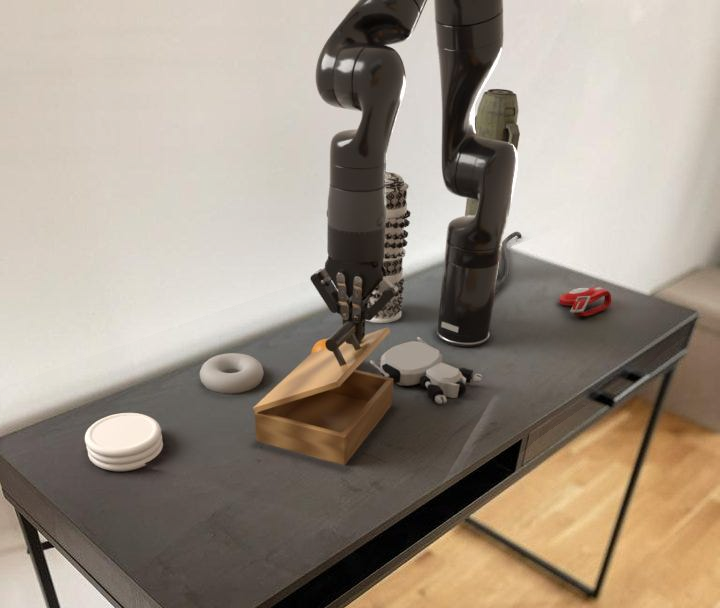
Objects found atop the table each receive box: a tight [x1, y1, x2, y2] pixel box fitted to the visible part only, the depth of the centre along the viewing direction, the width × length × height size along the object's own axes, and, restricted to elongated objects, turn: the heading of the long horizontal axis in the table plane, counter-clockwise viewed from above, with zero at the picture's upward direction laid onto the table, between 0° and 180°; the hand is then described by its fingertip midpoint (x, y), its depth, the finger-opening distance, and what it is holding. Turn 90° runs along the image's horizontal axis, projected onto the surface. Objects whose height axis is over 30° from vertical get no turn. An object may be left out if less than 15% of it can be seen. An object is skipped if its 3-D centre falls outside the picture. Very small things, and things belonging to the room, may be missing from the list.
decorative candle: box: [365, 171, 412, 324], centre depth 136 cm, size 9×9×25 cm
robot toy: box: [369, 336, 483, 405], centre depth 121 cm, size 12×4×15 cm
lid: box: [252, 322, 391, 413], centre depth 105 cm, size 14×18×5 cm
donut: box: [199, 352, 265, 395], centre depth 120 cm, size 10×4×10 cm
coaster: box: [84, 412, 164, 472], centre depth 103 cm, size 10×10×4 cm
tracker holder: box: [558, 286, 612, 317], centre depth 147 cm, size 12×4×10 cm
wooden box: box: [254, 369, 394, 466], centre depth 110 cm, size 14×18×5 cm
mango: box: [310, 338, 329, 354], centre depth 123 cm, size 8×5×5 cm, turn 66°
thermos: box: [464, 88, 521, 276], centre depth 150 cm, size 9×12×35 cm
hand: (353, 342), depth 108 cm, fingers closed
